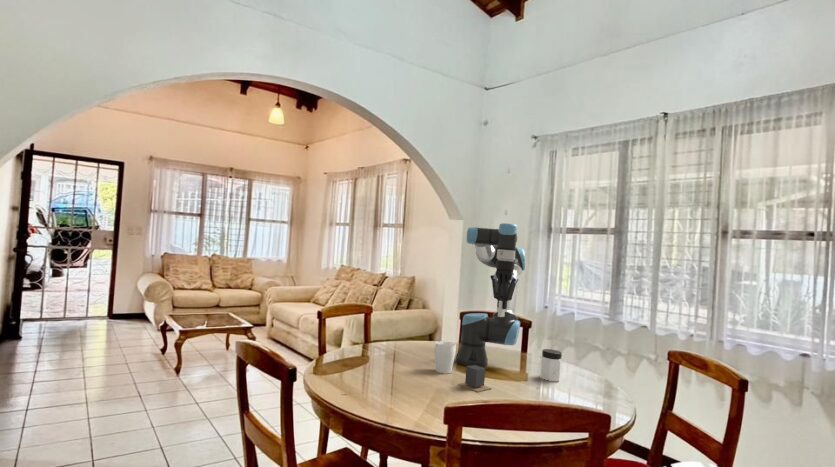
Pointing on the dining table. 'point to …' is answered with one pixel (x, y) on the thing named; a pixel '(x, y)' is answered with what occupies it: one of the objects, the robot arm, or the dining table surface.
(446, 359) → the cup
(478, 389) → the teal post on base
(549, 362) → the jar
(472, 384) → the charcoal cuboid
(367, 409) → the dining table surface
